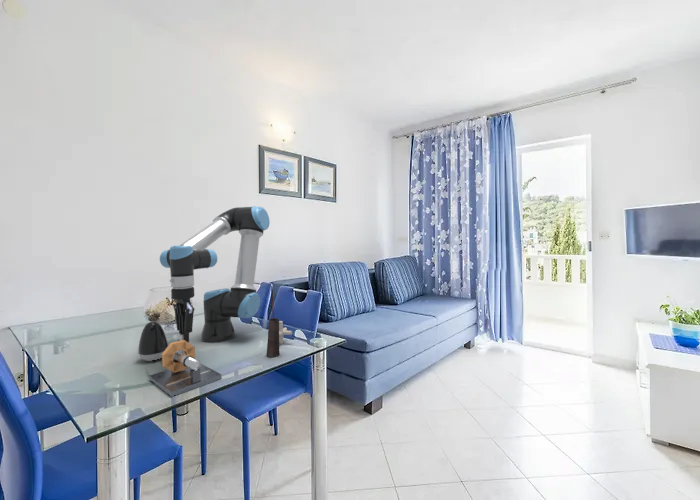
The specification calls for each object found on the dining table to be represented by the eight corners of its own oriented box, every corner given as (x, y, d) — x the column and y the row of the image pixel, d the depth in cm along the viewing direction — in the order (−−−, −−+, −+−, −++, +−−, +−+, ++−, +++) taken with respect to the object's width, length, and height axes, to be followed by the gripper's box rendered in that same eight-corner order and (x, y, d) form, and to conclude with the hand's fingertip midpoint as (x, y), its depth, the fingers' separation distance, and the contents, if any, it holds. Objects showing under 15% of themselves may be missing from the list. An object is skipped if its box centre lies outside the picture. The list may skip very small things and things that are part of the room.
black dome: (137, 366, 122) (135, 326, 121) (140, 357, 131) (138, 320, 130) (168, 361, 127) (166, 322, 126) (169, 352, 136) (167, 317, 135)
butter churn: (287, 358, 127) (285, 287, 125) (262, 361, 124) (260, 289, 123) (285, 350, 135) (283, 284, 134) (262, 353, 133) (259, 286, 131)
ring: (162, 374, 109) (161, 345, 109) (192, 364, 117) (191, 337, 116) (165, 375, 108) (163, 346, 108) (195, 366, 116) (194, 338, 115)
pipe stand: (149, 379, 110) (147, 354, 109) (196, 365, 122) (195, 342, 121) (171, 397, 97) (169, 368, 97) (221, 378, 109) (220, 353, 109)
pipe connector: (287, 347, 139) (286, 324, 138) (266, 346, 141) (265, 324, 140) (295, 340, 148) (295, 319, 148) (275, 339, 150) (275, 318, 150)
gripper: (164, 287, 120) (167, 349, 120) (179, 290, 111) (181, 357, 112) (185, 284, 125) (188, 344, 126) (201, 287, 117) (203, 351, 118)
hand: (185, 350), depth 119 cm, fingers closed
